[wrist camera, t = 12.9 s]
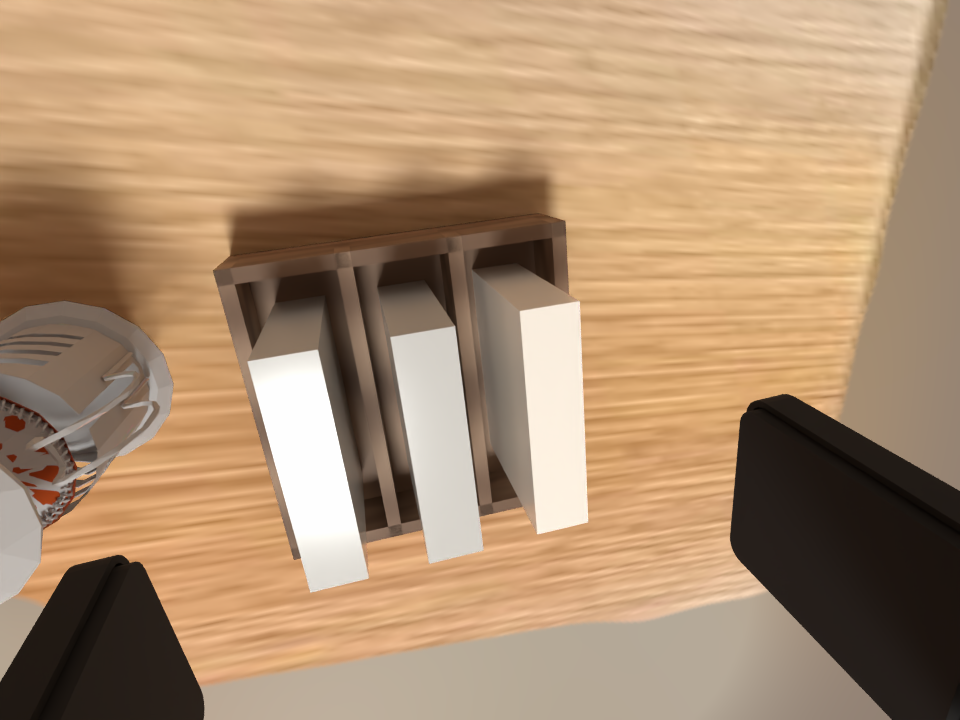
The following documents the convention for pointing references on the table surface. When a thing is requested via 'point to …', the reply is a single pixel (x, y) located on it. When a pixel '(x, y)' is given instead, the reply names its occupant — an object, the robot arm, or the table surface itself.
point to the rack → (363, 347)
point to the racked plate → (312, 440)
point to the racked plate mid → (432, 418)
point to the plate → (534, 391)
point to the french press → (67, 416)
